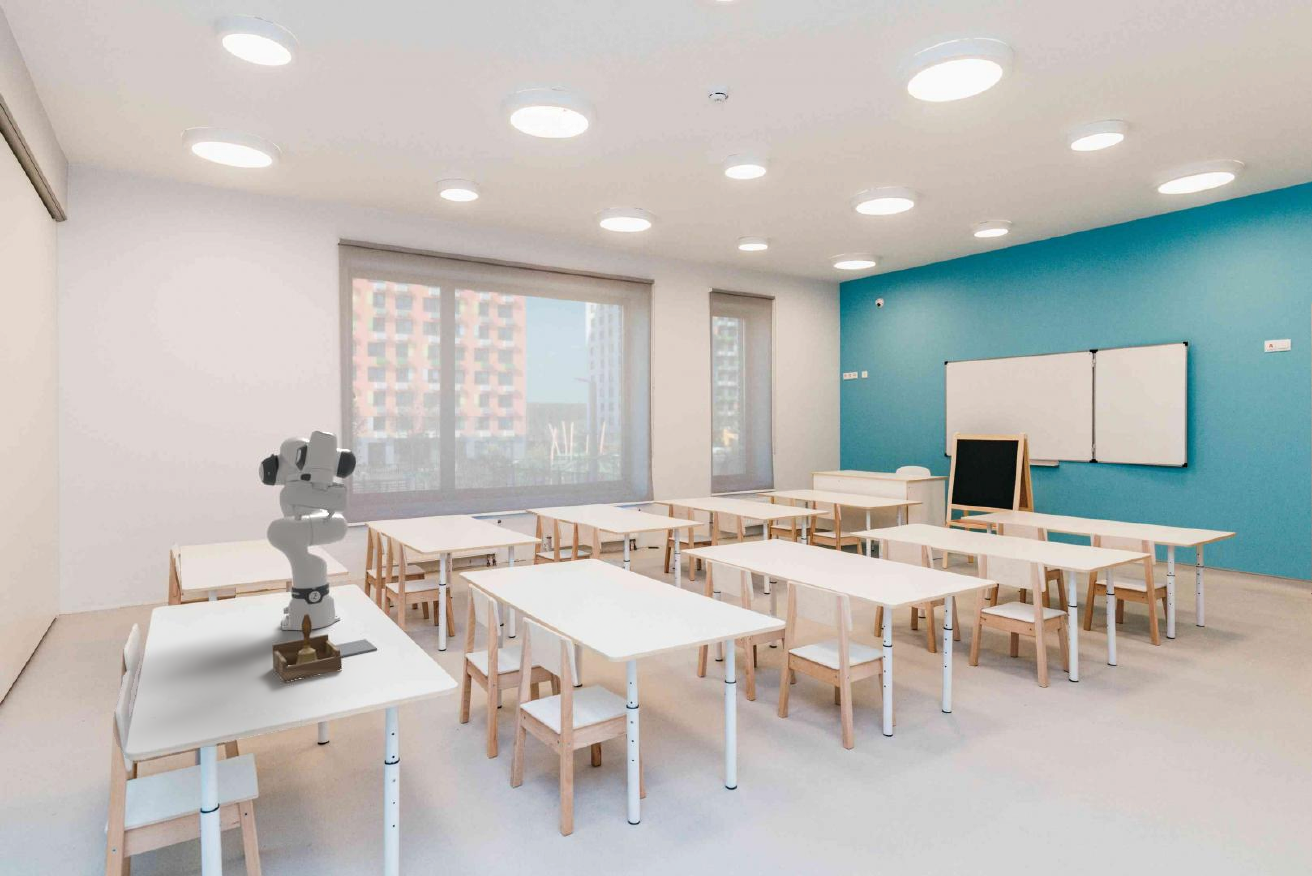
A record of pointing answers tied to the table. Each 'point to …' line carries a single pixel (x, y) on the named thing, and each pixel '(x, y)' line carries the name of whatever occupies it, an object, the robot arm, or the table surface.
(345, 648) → the slate mat
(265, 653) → the table surface
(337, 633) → the table surface
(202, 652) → the table surface
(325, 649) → the open wooden box
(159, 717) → the table surface
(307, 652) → the hand bell
